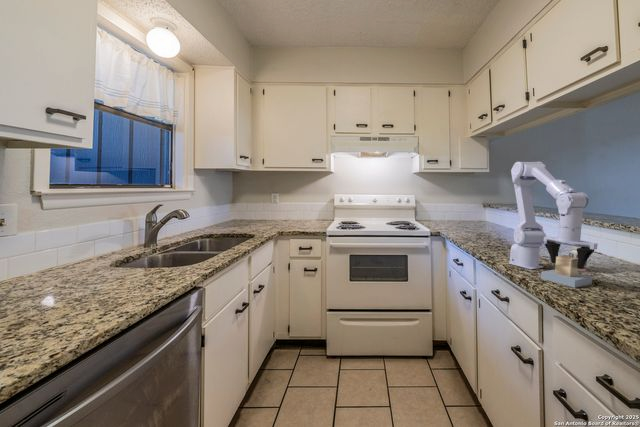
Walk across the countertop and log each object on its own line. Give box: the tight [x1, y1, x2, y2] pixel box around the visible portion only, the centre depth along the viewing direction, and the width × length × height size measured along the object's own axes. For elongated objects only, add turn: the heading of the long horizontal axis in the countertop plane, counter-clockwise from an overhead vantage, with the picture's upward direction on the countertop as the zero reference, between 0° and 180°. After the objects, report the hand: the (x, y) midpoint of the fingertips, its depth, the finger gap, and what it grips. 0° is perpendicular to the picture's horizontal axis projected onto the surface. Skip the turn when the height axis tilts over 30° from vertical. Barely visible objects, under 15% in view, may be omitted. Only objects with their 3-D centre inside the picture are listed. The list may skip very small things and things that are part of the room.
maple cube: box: [554, 255, 580, 277], centre depth 96 cm, size 4×4×6 cm
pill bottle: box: [568, 246, 588, 272], centre depth 110 cm, size 5×5×10 cm
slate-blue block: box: [540, 269, 593, 289], centre depth 96 cm, size 10×10×3 cm
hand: (566, 265), depth 96 cm, fingers open, 7 cm apart
